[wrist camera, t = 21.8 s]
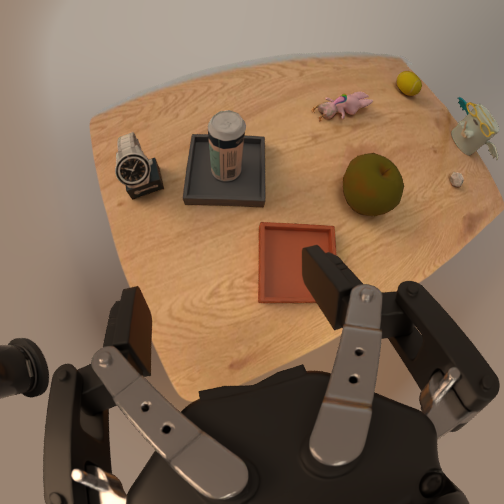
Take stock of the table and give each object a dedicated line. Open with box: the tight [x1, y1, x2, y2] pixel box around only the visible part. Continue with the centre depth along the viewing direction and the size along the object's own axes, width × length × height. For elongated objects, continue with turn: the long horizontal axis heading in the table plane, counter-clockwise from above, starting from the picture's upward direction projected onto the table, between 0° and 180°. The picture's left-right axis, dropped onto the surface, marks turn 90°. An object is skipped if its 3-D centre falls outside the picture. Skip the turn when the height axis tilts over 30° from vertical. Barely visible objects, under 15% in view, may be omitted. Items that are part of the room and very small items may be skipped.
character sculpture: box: [451, 97, 499, 160], centre depth 46 cm, size 20×12×13 cm, turn 19°
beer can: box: [208, 110, 246, 181], centre depth 36 cm, size 5×5×12 cm
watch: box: [115, 132, 164, 200], centre depth 36 cm, size 6×8×11 cm
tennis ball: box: [397, 71, 422, 96], centre depth 51 cm, size 7×7×7 cm
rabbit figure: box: [312, 92, 373, 121], centre depth 46 cm, size 6×6×15 cm
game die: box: [450, 172, 464, 187], centre depth 47 cm, size 4×4×3 cm
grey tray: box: [183, 134, 265, 207], centre depth 42 cm, size 12×12×2 cm
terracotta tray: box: [258, 222, 336, 303], centre depth 39 cm, size 11×11×2 cm
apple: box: [343, 153, 404, 216], centre depth 39 cm, size 10×10×11 cm
